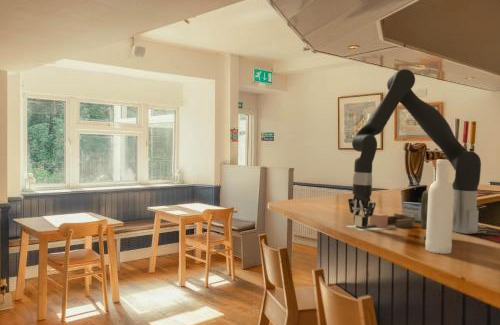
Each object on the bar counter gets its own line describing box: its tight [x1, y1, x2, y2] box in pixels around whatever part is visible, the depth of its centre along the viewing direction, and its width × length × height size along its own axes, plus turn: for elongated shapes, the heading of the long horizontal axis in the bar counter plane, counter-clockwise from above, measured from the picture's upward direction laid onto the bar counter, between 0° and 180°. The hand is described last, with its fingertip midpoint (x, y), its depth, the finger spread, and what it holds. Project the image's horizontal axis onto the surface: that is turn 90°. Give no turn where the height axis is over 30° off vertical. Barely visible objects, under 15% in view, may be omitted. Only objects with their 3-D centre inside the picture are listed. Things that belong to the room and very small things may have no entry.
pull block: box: [353, 212, 389, 228], centre depth 175 cm, size 5×14×5 cm, turn 118°
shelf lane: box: [345, 213, 417, 232], centre depth 178 cm, size 11×30×4 cm, turn 119°
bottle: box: [424, 158, 454, 255], centre depth 138 cm, size 8×8×30 cm
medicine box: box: [401, 201, 421, 223], centre depth 197 cm, size 8×4×9 cm, turn 62°
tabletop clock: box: [420, 189, 454, 241], centre depth 157 cm, size 14×9×25 cm, turn 147°
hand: (360, 225), depth 173 cm, fingers closed on pull block, 4 cm apart
